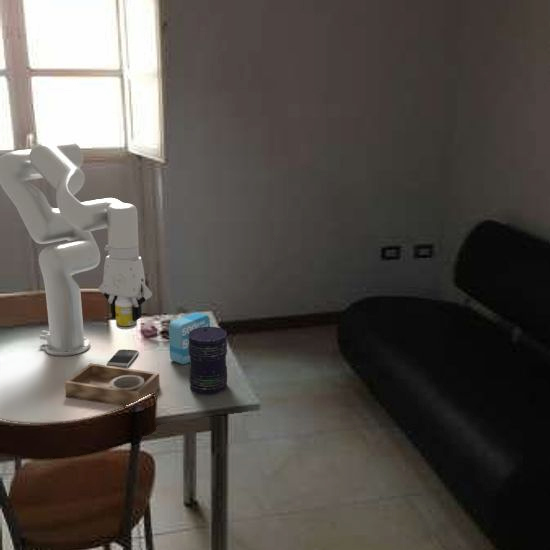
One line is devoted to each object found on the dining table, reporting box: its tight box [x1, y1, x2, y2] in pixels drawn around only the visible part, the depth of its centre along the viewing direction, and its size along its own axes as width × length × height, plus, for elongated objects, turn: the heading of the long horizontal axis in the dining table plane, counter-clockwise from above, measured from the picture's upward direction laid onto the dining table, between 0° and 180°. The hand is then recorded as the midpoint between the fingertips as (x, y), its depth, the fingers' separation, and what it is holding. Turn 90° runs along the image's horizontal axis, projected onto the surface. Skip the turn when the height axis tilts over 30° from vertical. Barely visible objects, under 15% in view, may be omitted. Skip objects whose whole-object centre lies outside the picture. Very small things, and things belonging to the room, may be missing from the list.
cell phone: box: [105, 349, 140, 369], centre depth 187 cm, size 6×11×1 cm, turn 172°
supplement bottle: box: [115, 296, 138, 330], centre depth 174 cm, size 5×5×10 cm
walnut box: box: [64, 362, 161, 407], centre depth 168 cm, size 20×12×4 cm, turn 74°
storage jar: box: [188, 326, 228, 397], centre depth 170 cm, size 10×10×15 cm
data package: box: [168, 311, 211, 365], centre depth 188 cm, size 12×4×12 cm, turn 142°
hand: (126, 317), depth 174 cm, fingers closed on supplement bottle, 5 cm apart
